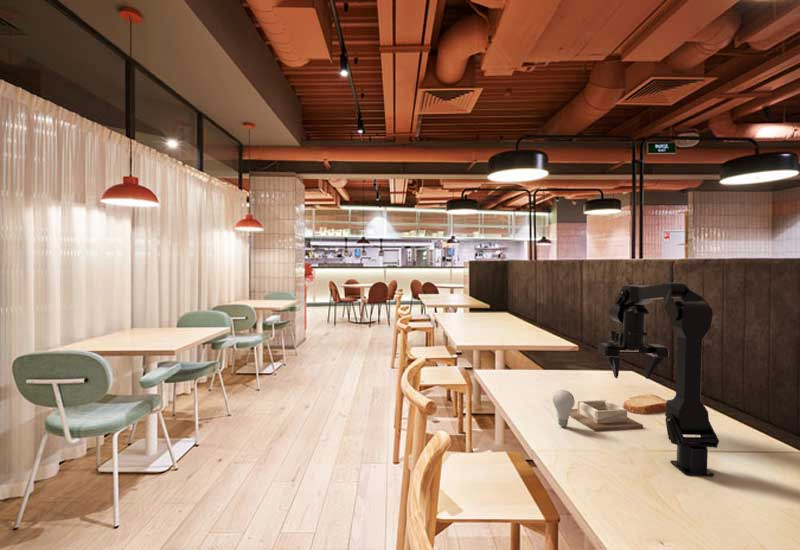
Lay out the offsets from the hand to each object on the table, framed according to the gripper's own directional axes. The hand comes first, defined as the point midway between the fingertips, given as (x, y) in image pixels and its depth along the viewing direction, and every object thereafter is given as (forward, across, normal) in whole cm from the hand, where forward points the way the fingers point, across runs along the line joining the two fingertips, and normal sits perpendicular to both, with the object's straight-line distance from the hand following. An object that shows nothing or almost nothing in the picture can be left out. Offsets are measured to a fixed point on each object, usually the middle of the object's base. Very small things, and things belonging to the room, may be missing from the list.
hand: (631, 378), depth 130 cm
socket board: (+14, +7, -4) cm, 16 cm away
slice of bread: (+16, -16, -17) cm, 28 cm away
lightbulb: (+14, +21, +3) cm, 26 cm away
